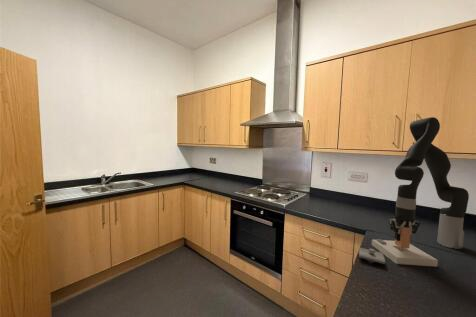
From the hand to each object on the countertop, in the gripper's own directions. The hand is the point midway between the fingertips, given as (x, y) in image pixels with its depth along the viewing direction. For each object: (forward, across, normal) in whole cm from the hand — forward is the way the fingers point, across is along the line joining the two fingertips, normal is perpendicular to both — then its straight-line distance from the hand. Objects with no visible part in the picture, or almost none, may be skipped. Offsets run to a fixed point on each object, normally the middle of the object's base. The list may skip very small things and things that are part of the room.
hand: (402, 240), depth 100 cm
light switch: (+8, +19, +7) cm, 21 cm away
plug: (+3, 0, 0) cm, 3 cm away
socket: (+7, 0, 0) cm, 7 cm away
